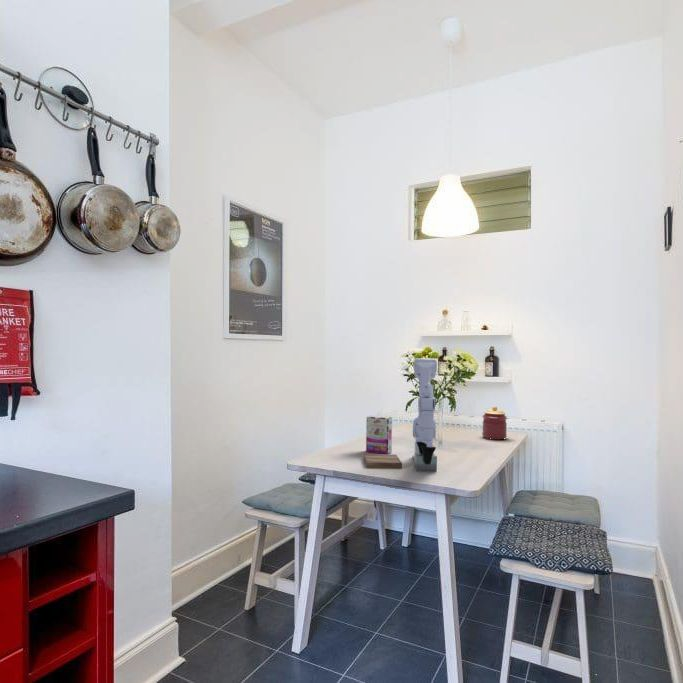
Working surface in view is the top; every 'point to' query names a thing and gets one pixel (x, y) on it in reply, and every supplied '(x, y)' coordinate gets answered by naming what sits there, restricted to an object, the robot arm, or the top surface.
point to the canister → (494, 424)
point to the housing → (420, 464)
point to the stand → (382, 461)
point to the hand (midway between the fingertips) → (425, 461)
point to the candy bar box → (379, 434)
